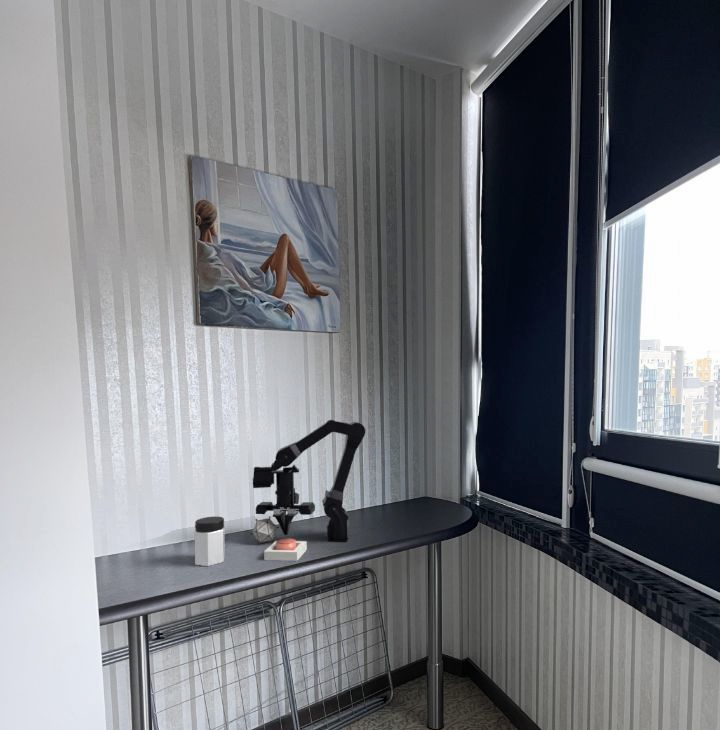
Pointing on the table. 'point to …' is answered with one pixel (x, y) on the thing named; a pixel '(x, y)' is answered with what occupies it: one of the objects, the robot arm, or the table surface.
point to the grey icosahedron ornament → (264, 530)
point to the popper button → (286, 544)
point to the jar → (209, 541)
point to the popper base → (285, 552)
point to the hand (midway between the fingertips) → (285, 534)
